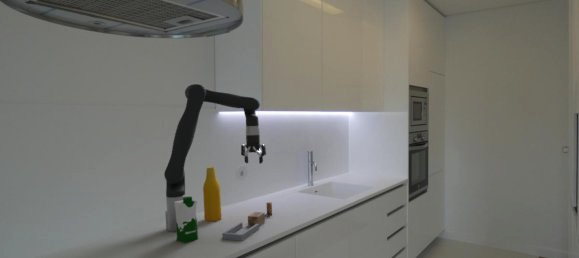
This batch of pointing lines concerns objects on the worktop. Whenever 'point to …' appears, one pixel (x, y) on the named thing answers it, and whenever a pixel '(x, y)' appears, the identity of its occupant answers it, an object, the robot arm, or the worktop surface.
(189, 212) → the milk carton
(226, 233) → the lane
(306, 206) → the worktop surface
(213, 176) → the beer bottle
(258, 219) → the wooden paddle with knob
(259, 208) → the worktop surface
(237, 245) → the worktop surface
